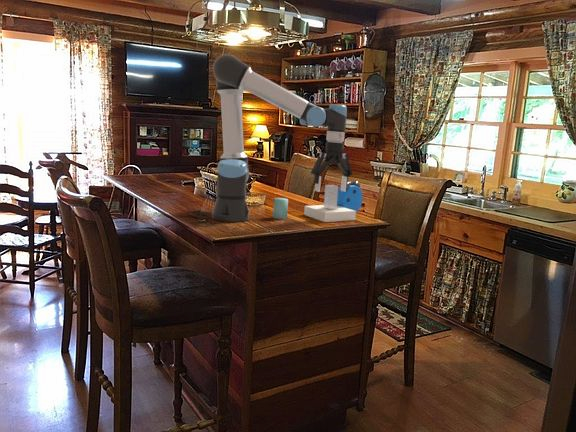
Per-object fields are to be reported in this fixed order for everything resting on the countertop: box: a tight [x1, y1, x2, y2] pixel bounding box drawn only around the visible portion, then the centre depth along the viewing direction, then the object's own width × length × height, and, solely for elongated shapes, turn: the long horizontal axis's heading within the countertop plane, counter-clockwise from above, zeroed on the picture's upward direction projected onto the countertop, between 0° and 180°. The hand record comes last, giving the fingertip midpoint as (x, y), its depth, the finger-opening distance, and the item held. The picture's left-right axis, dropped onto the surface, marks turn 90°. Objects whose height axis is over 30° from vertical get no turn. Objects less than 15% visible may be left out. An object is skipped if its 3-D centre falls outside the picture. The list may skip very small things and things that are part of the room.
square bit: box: [323, 184, 339, 210], centre depth 215 cm, size 4×4×14 cm
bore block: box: [303, 204, 357, 223], centre depth 216 cm, size 16×16×4 cm
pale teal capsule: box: [272, 197, 289, 220], centre depth 208 cm, size 6×6×8 cm
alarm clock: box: [337, 180, 364, 213], centre depth 227 cm, size 13×6×15 cm, turn 131°
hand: (330, 191), depth 214 cm, fingers open, 13 cm apart
